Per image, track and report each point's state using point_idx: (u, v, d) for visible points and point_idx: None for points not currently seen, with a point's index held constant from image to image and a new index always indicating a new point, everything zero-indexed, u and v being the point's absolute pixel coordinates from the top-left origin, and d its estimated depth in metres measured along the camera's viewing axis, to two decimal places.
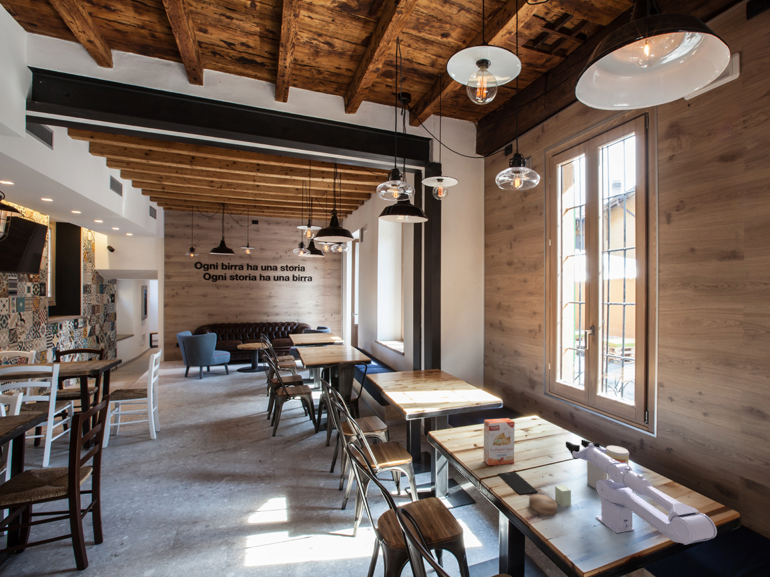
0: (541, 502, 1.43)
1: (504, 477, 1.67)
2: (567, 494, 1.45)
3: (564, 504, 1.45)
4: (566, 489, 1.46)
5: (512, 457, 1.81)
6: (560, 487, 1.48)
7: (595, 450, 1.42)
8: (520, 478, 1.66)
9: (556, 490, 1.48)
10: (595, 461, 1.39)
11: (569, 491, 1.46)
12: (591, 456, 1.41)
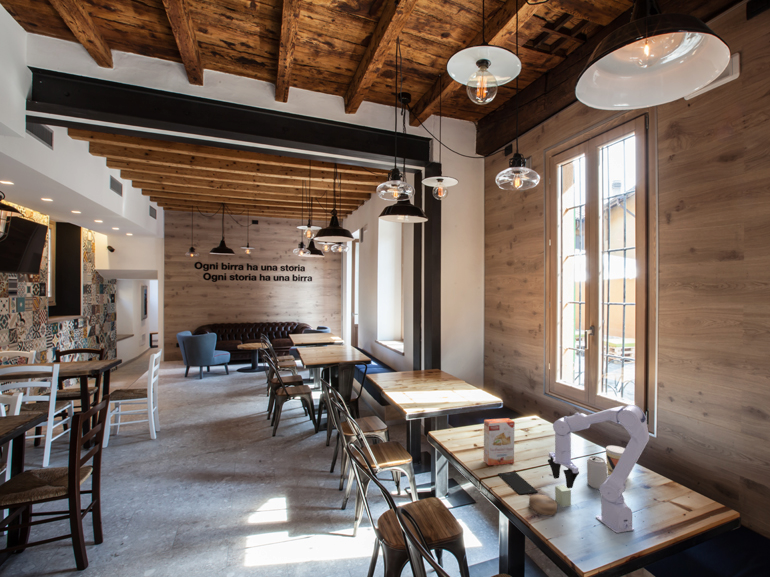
0: (541, 502, 1.43)
1: (504, 477, 1.67)
2: (567, 494, 1.45)
3: (564, 504, 1.45)
4: (566, 489, 1.46)
5: (512, 457, 1.81)
6: (560, 487, 1.48)
7: (558, 454, 1.46)
8: (520, 478, 1.66)
9: (556, 490, 1.48)
10: (560, 449, 1.46)
11: (569, 491, 1.46)
12: (566, 455, 1.45)
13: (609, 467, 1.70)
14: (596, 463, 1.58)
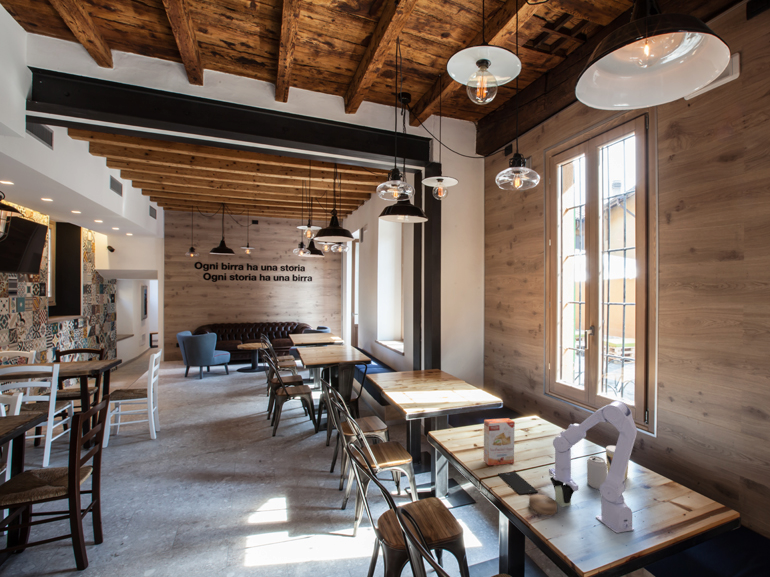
0: (541, 502, 1.43)
1: (504, 477, 1.67)
2: None
3: (564, 504, 1.45)
4: None
5: (512, 457, 1.81)
6: (560, 487, 1.48)
7: (558, 471, 1.46)
8: (520, 478, 1.66)
9: (556, 490, 1.48)
10: (560, 466, 1.45)
11: None
12: (566, 472, 1.45)
13: (609, 467, 1.70)
14: (596, 463, 1.58)
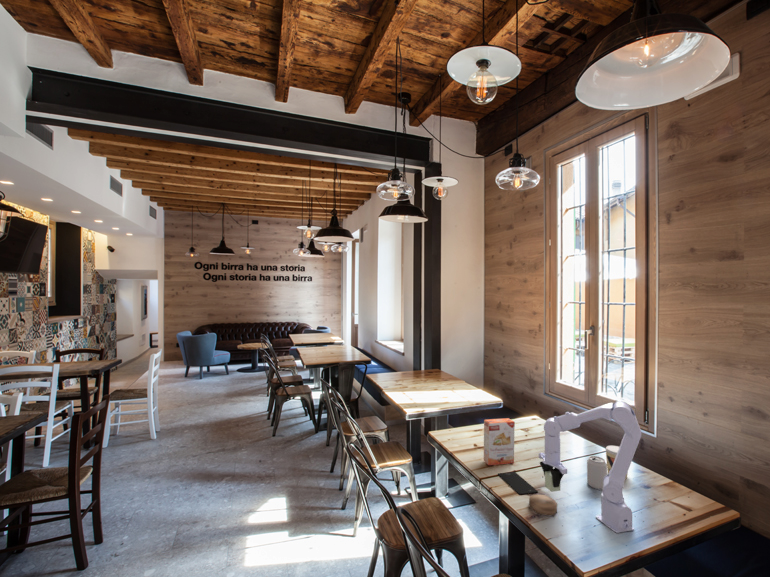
0: (541, 502, 1.43)
1: (504, 477, 1.67)
2: None
3: (553, 489, 1.44)
4: None
5: (512, 457, 1.81)
6: (550, 472, 1.46)
7: (547, 455, 1.45)
8: (520, 478, 1.66)
9: (546, 475, 1.47)
10: (551, 450, 1.44)
11: None
12: (555, 456, 1.43)
13: (609, 467, 1.70)
14: (596, 463, 1.58)
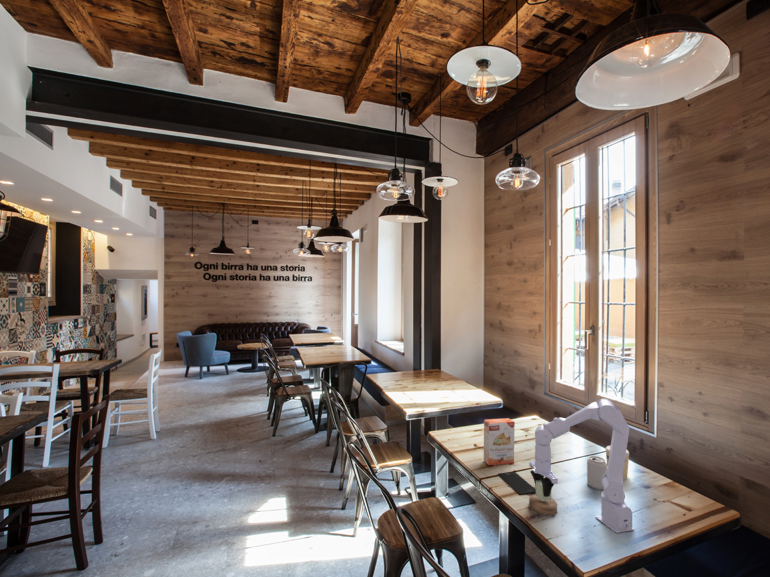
0: (541, 502, 1.43)
1: (504, 477, 1.67)
2: None
3: (544, 499, 1.42)
4: None
5: (512, 457, 1.81)
6: None
7: (537, 464, 1.43)
8: (520, 478, 1.66)
9: (536, 484, 1.45)
10: (543, 459, 1.42)
11: None
12: (545, 465, 1.41)
13: None
14: (596, 463, 1.58)
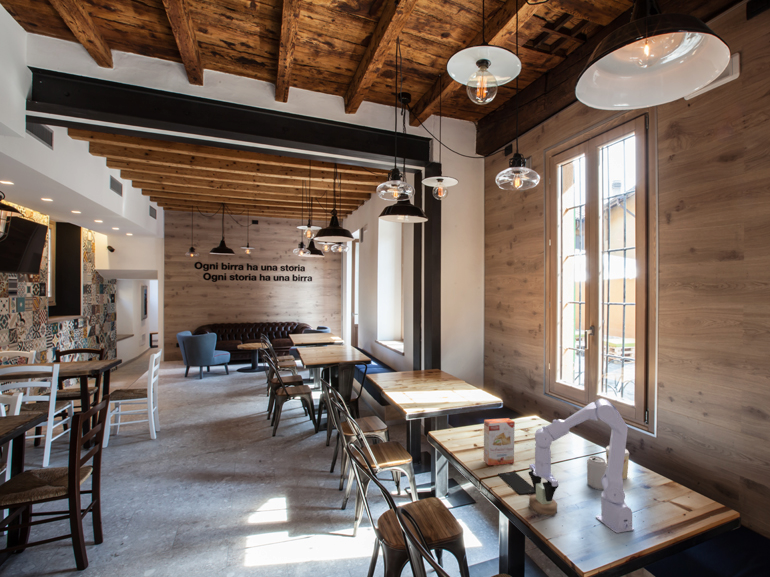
0: None
1: (504, 477, 1.67)
2: None
3: (544, 502, 1.42)
4: None
5: (512, 457, 1.81)
6: (541, 485, 1.45)
7: (537, 467, 1.43)
8: (520, 478, 1.66)
9: (537, 488, 1.45)
10: (543, 462, 1.42)
11: None
12: (545, 467, 1.41)
13: None
14: (596, 463, 1.58)
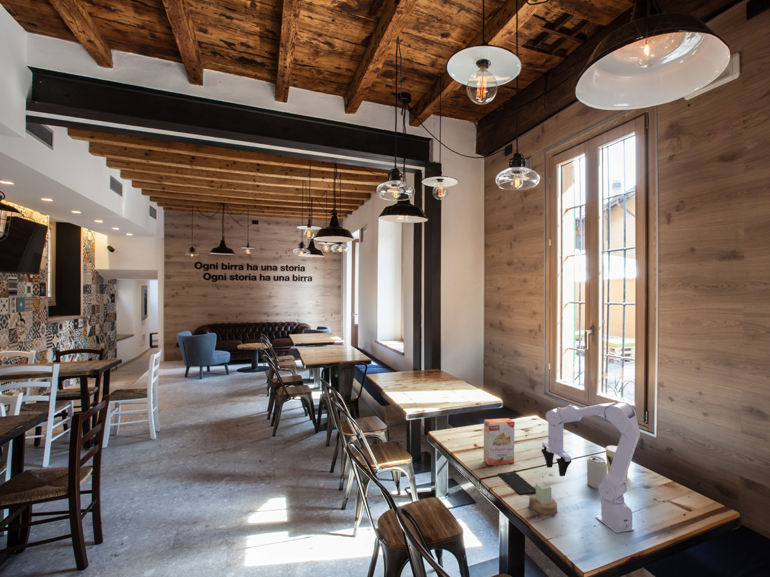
0: None
1: (504, 477, 1.67)
2: (547, 491, 1.42)
3: (544, 502, 1.42)
4: (547, 487, 1.43)
5: (512, 457, 1.81)
6: (541, 485, 1.45)
7: (551, 444, 1.51)
8: (520, 478, 1.66)
9: (537, 488, 1.45)
10: (552, 438, 1.51)
11: (550, 489, 1.43)
12: (558, 444, 1.49)
13: (609, 467, 1.70)
14: (596, 463, 1.58)
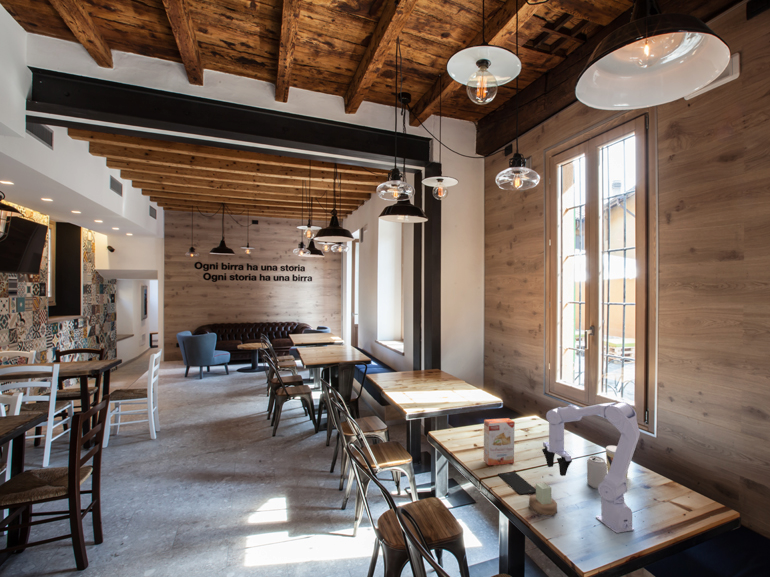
0: None
1: (504, 477, 1.66)
2: (547, 491, 1.42)
3: (544, 502, 1.42)
4: (547, 487, 1.43)
5: (512, 457, 1.81)
6: (541, 485, 1.45)
7: (551, 443, 1.51)
8: (520, 478, 1.66)
9: (537, 488, 1.45)
10: (553, 438, 1.51)
11: (550, 489, 1.43)
12: (559, 444, 1.50)
13: (609, 467, 1.70)
14: (596, 463, 1.58)
